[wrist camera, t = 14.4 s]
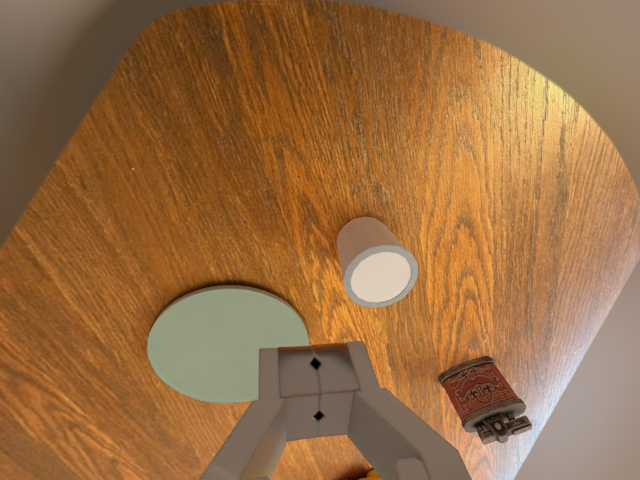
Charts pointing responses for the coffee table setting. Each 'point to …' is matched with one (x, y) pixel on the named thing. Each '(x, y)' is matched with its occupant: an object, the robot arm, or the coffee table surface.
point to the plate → (221, 341)
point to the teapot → (371, 476)
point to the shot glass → (374, 263)
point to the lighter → (485, 400)
